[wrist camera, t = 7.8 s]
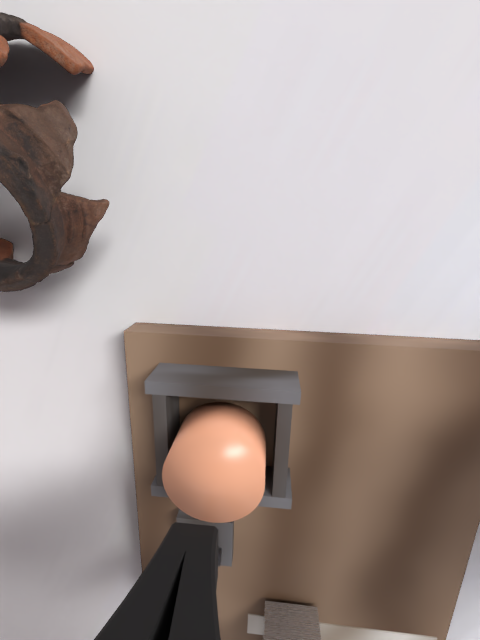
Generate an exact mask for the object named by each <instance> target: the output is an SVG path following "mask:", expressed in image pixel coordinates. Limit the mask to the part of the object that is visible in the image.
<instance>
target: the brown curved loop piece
mask: <svg viewBox="0 0 480 640" xmlns="http://www.w3.org/2000/svg"><path fill="white" fill-rule="evenodd" d="M14 39H25V40H27V41H28V42H30V43H31V44H32V45H34V46H36V47H37V48H39V49H40V50H41V51H43V52H44V53H45V54H47V55H48V56H49V57H51V58H52V59H53V60H54V61H55V62H57V63H58V64H59V65H60V66H62V67H63V68H64V69H65V70H66V71H67V72H69V73H70V74H72V75H77V74H79V73H80V72H82V73H85V74H91V73H92V72H93V70H94V67H93V65H92V64H91V62H90V61H89V60H88V59H87V58H86V57H85V56H84V55H83V54H82V53H80V52H79V51H78V50H77V49H75V48H74V47H73V46H72V45H70V44H68V43H67V42H65V41H64V40H62V39H61V38H59V37H57V36H55V35H53V34H51V33H48V32H46V31H43V30H41V29H40V28H38V27H36V26H34V25H32V24H29V23H27V22H26V21H24V20H23V19H21V18H19V17H16V16H13V15H8V14H5V13H1V12H0V68H1V67H2V66H3V65H4V64H5V63H6V61H7V58H8V55H7V54H8V53H9V45H8V42H7V41H10V40H14ZM76 138H77V127H76V125H75V123H74V121H73V119H72V118H71V116H70V114H69V112H68V110H67V108H66V107H65V106H64V105H63V104H62V103H61V102H60V101H57V100H54V101H51V102H50V103H47V104H42V105H40V106H39V107H38V108H35V107H32V106H29V105H24V104H4V105H3V104H0V182H1V183H2V184H3V185H4V186H5V187H6V188H7V189H8V190H9V192H10V193H11V194H12V196H13V197H14V198H15V200H16V201H17V202H18V203H19V205H20V206H21V208H22V210H23V212H24V214H25V216H26V217H27V218H28V221H29V223H30V228H31V230H32V234H33V235H32V238H33V245H34V250H33V255H32V257H31V259H30V260H29V261H27V262H25V263H23V262H19V261H16V260H13V244H12V243H11V242H9V241H7V240H5V239H1V238H0V291H2V292H10V291H18V290H23V289H26V288H29V287H31V286H34V285H35V284H36V283H37V282H41V281H42V280H43V279H45V278H46V277H47V276H49V274H52V273H56V272H59V271H62V270H64V269H67V268H69V267H71V266H72V265H73V264H74V261H76V260H78V259H80V258H81V257H82V256H83V254H84V253H85V251H86V249H87V245H88V243H89V239H90V237H91V235H92V233H93V231H94V229H95V228H96V226H97V224H98V222H99V221H100V220H101V219H102V218H103V216H104V214H105V212H106V210H107V208H108V206H109V201H108V200H105V199H101V200H89V199H86V198H83V197H78V196H74V195H71V194H67V193H63V192H61V188H62V186H63V185H64V184H65V183H66V182H67V181H68V180H69V178H70V177H71V172H72V168H73V163H74V156H73V145H74V143H75V141H76Z"/></svg>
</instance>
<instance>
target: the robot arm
mask: <svg viewBox="0 0 480 640" xmlns="http://www.w3.org/2000/svg"><path fill="white" fill-rule="evenodd" d="M217 579H218V529H217V528H216V527H215V526H209V525H199V524H189V523H179V522H175V523H173V524H172V525H171V527H170V529H169V531H168V532H167V534H166V536H165V538H164V539H163V541H162V543H161V544H160V546H159V548H158V549H157V551H156V553H155V554H154V556H153V557H152V559H151V560H150V562H149V564H148V565H147V567H146V568H145V570H144V571H143V573H142V574H141V576H140V577H139V579H138V580H137V581H136V583H135V584H134V586H133V587H132V589H131V590H130V592H129V593H128V595H127V596H126V598H125V599H124V600H123V602H122V603H121V604H120V606H119V607H118V608H117V610H116V611H115V612H114V614H113V615H112V616H111V618H110V619H109V621H108V622H107V623H106V625H105V626H104V627H103V629H102V630H101V631H100V633H99V634H98V635H97V636H96V638H95V639H94V640H221V638H220V629H219V620H218V609H217V596H216V589H217Z"/></svg>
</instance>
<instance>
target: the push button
mask: <svg viewBox="0 0 480 640" xmlns="http://www.w3.org/2000/svg"><path fill="white" fill-rule="evenodd" d="M265 466H266V437H265V432H264V429H263V427H262V425H261V424H260V422H259V421H258V419H257V418H256V417H255V416H254V415H253V414H252V413H250V412H249V411H248V410H246V409H245V408H243V407H241V406H238V405H236V404H233V403H228V402H210V403H206V404H203V405H200V406H199V407H197V408H195V409H194V410H192V411H191V412H190V413H189V414H188V415H187V416H186V418H185V419H184V421H183V423H182V425H181V427H180V429H179V431H178V433H177V436H176V438H175V440H174V442H173V444H172V447H171V449H170V451H169V453H168V455H167V457H166V460H165V462H164V465H163V469H162V481H163V485H164V489H165V491H166V493H167V495H168V496H169V498H170V499H171V501H172V502H173V503H174V504H175V505H176V506H177V507H178V508H179V509H180V510H182V511H183V512H184V513H186V514H188V515H189V516H191V517H193V518H196V519H199V520H202V521H206V522H212V523H226V522H232V521H235V520H238V519H241V518H243V517H245V516H247V515H248V514H250V513H251V512H252V511H253V510H254V509H255V508H256V507H257V506H258V504H259V503H260V501H261V499H262V497H263V494H264V490H265Z"/></svg>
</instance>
